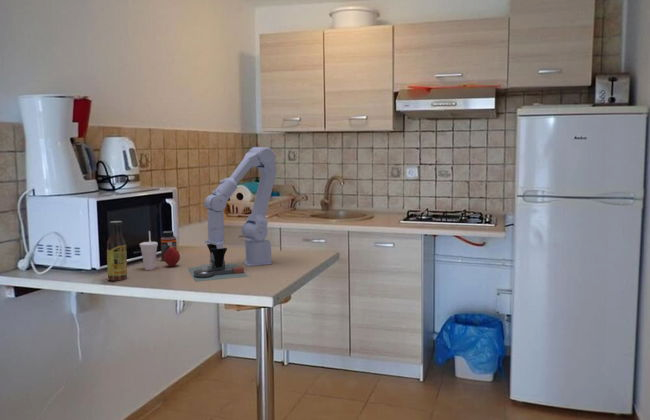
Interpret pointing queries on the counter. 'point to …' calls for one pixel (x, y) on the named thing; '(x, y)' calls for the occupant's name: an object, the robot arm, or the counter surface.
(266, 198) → the robot arm
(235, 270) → the ratchet
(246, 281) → the counter surface
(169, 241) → the supplement bottle
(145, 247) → the smoothie
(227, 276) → the mat
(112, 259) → the sauce bottle
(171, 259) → the onion
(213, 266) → the socket
